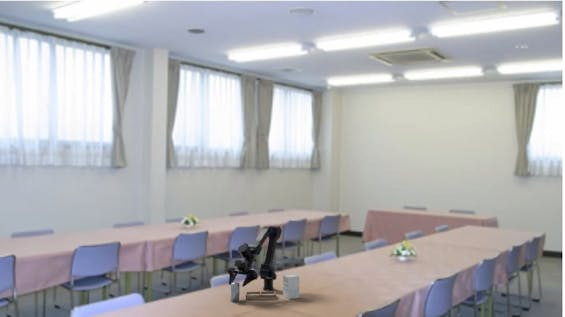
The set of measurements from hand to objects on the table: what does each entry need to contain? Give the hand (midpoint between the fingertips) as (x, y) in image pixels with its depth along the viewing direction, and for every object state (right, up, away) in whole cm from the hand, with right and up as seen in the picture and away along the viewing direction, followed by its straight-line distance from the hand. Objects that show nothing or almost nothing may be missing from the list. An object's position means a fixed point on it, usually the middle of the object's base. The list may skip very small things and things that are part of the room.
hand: (236, 285), depth 287 cm
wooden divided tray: (+14, -9, +7) cm, 18 cm away
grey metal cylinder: (0, -8, -1) cm, 9 cm away
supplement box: (+31, -9, +8) cm, 33 cm away
